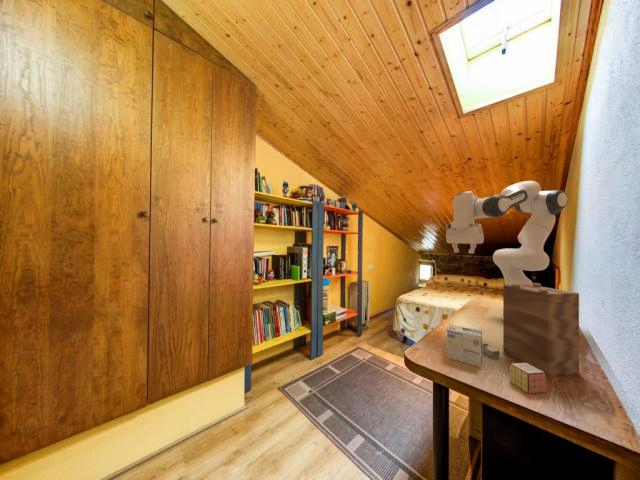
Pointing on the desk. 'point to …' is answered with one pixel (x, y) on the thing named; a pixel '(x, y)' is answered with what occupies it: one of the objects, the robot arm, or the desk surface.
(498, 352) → the sighting bar
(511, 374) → the puzzle toy
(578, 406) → the desk surface
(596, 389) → the desk surface
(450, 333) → the light bulb box
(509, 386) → the desk surface
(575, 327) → the plinth
